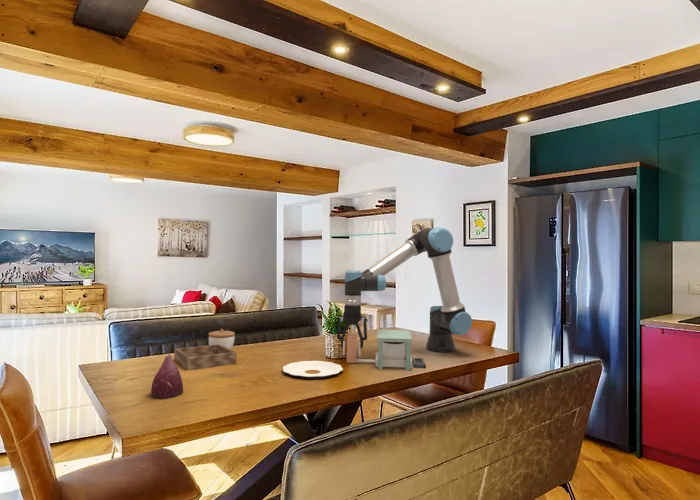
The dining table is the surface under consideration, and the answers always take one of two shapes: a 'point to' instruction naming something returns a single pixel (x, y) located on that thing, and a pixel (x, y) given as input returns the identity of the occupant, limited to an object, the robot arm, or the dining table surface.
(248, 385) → the dining table surface
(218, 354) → the brown wooden tray
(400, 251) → the robot arm
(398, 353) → the cup
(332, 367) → the plate
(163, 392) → the vegetable
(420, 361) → the pit tray
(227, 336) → the lidded bowl
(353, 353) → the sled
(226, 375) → the dining table surface
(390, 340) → the mint green stool
